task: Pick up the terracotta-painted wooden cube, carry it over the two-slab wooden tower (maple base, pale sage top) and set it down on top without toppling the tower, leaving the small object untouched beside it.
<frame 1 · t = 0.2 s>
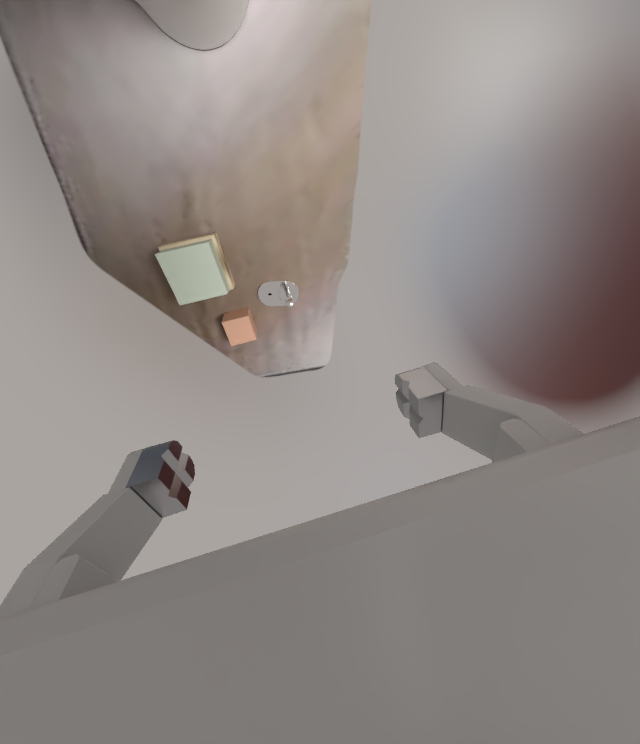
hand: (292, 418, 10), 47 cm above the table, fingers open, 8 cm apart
tower base: (201, 264, 49), on the table, touching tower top
stand: (278, 292, 55), on the table
terracotta block: (240, 321, 56), on the table
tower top: (197, 269, 46), point 4 cm above the table, touching tower base
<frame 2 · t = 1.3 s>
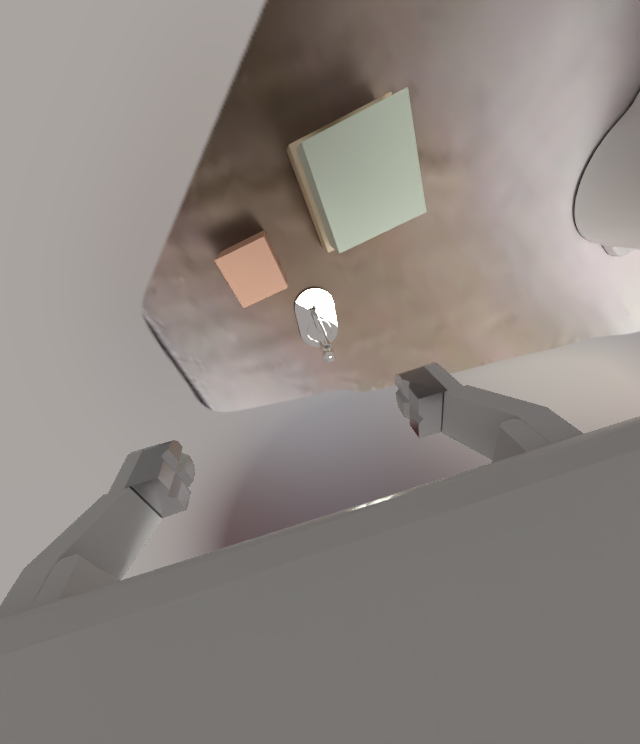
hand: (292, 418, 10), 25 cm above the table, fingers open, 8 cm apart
tower base: (345, 182, 28), on the table, touching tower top
stand: (316, 317, 35), on the table
terracotta block: (254, 263, 30), on the table
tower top: (355, 181, 24), point 4 cm above the table, touching tower base
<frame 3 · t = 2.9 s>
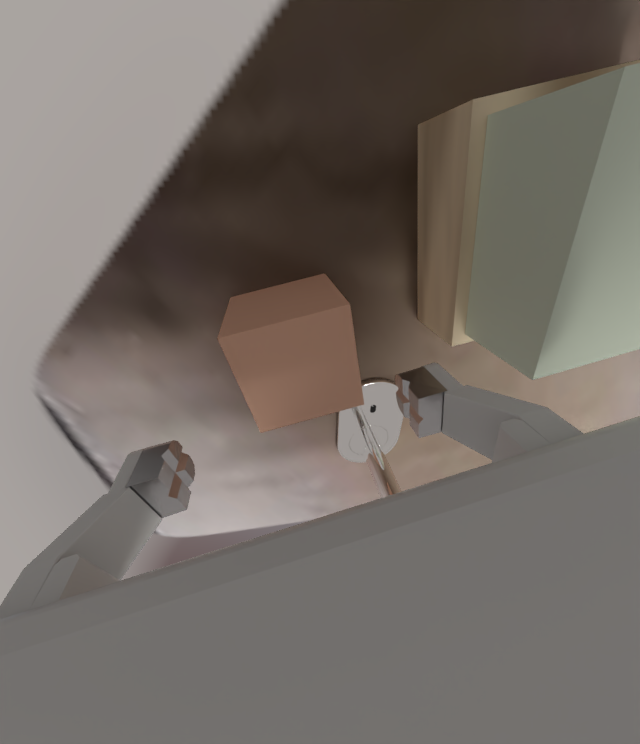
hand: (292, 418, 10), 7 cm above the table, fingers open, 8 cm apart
tower base: (495, 217, 14), on the table, touching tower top
stand: (367, 420, 21), on the table
terracotta block: (290, 328, 16), on the table
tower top: (566, 221, 11), point 4 cm above the table, touching tower base
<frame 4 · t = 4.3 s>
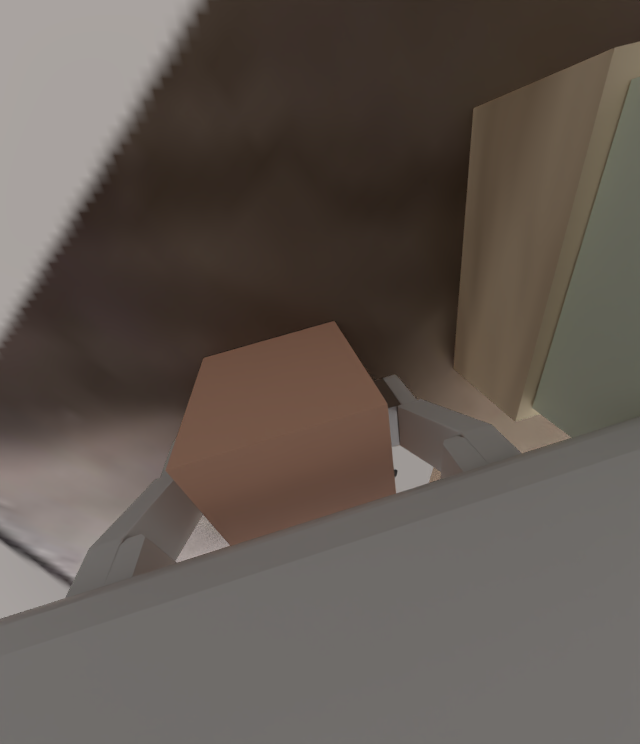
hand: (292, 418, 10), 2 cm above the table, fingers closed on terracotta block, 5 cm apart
tower base: (563, 238, 11), on the table, touching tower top
stand: (385, 482, 17), on the table
terracotta block: (288, 390, 11), on the table, touching gripper
when the fingers open (11 cm above the table, at t = 9.6 s): terracotta block drops 2 cm, resting on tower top.
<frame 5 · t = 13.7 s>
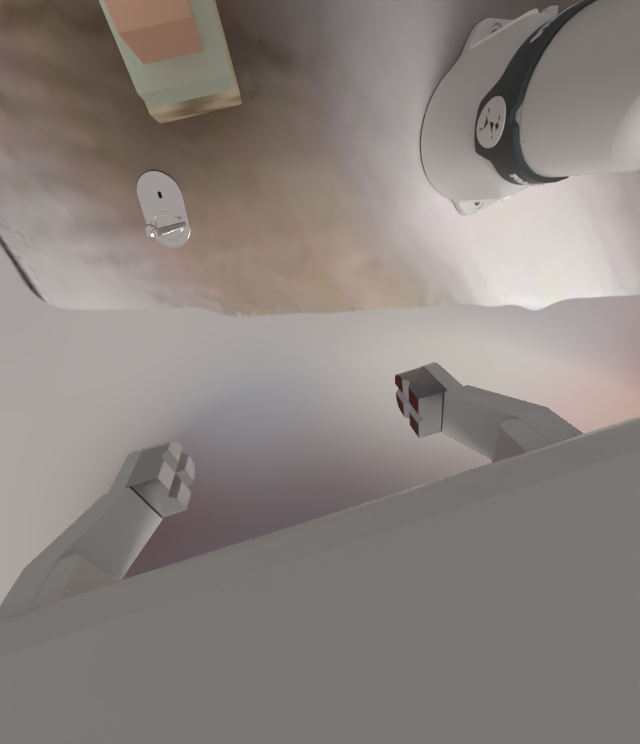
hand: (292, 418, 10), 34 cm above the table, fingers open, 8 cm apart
tower base: (182, 55, 28), on the table, touching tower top
stand: (166, 211, 34), on the table
terracotta block: (157, 10, 21), point 8 cm above the table, touching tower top
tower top: (173, 37, 24), point 4 cm above the table, touching terracotta block, tower base
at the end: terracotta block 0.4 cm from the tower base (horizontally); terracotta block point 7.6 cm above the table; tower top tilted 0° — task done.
